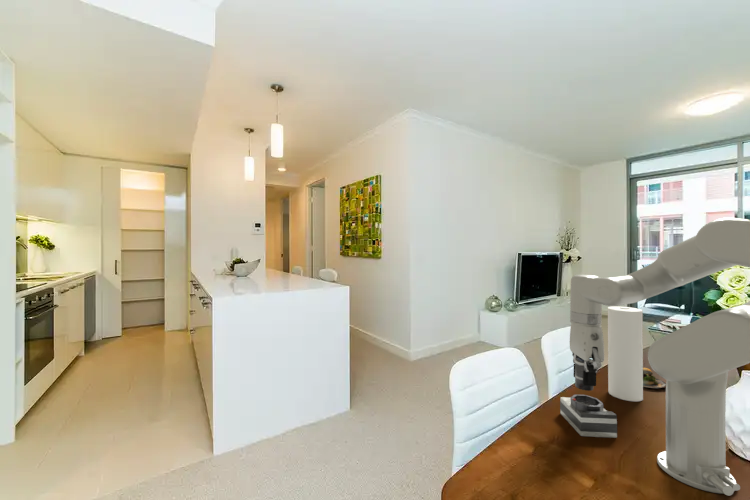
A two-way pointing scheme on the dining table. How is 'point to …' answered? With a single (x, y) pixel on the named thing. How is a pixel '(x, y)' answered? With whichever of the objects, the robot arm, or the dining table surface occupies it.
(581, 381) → the lens
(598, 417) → the grey striped block
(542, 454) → the dining table surface
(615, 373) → the cylinder container
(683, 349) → the robot arm
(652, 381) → the white patterned bowl
